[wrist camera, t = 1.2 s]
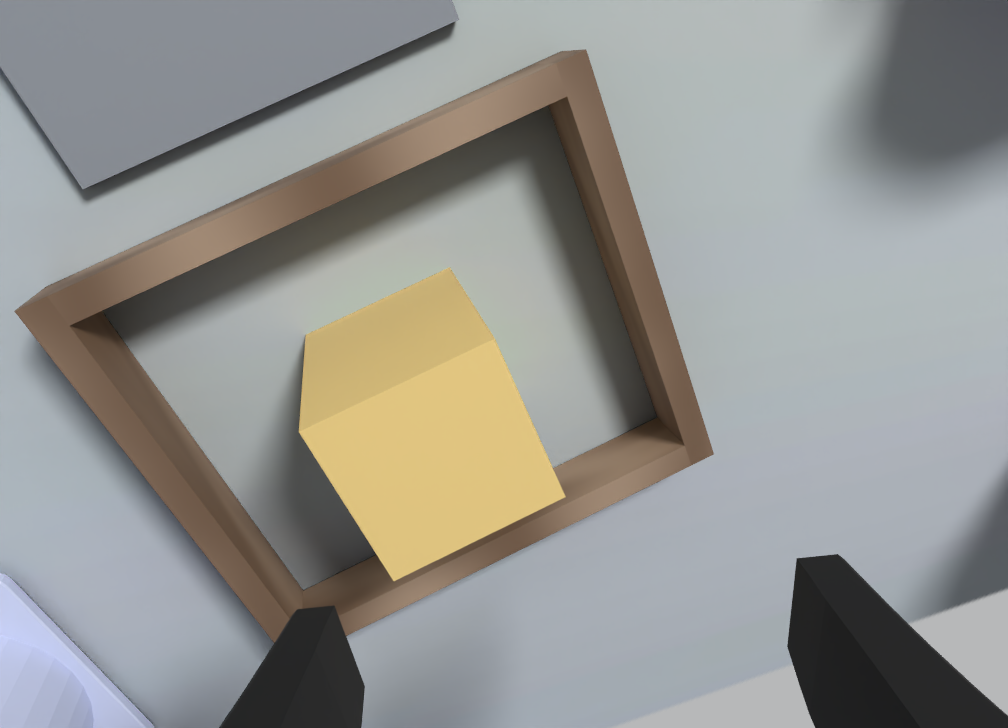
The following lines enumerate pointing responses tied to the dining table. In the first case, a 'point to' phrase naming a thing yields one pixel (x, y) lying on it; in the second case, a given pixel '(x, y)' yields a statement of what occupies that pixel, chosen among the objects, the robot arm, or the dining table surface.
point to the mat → (183, 64)
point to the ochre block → (421, 425)
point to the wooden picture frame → (82, 296)
